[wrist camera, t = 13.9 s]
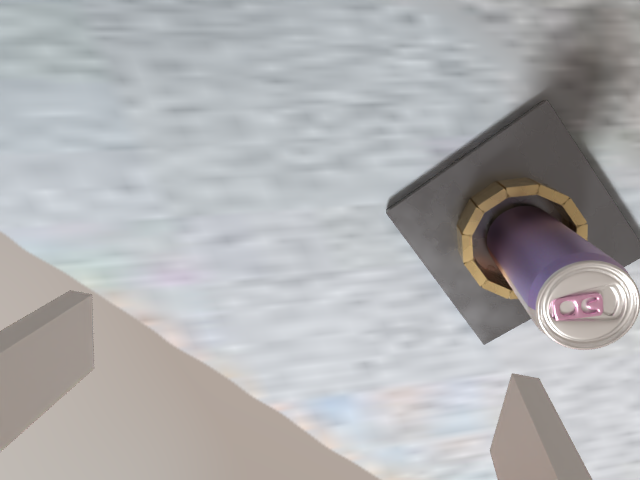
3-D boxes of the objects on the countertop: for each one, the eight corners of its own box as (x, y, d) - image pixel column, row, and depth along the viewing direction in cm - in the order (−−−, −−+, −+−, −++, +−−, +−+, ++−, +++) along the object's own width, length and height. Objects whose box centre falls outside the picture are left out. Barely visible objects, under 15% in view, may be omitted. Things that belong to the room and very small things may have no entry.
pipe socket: (386, 210, 44) (385, 222, 39) (543, 100, 39) (562, 100, 34) (481, 338, 46) (491, 364, 41) (640, 249, 41) (671, 267, 37)
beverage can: (481, 210, 41) (528, 267, 27) (553, 198, 40) (642, 250, 26) (489, 273, 43) (538, 358, 28) (558, 263, 41) (646, 347, 27)
